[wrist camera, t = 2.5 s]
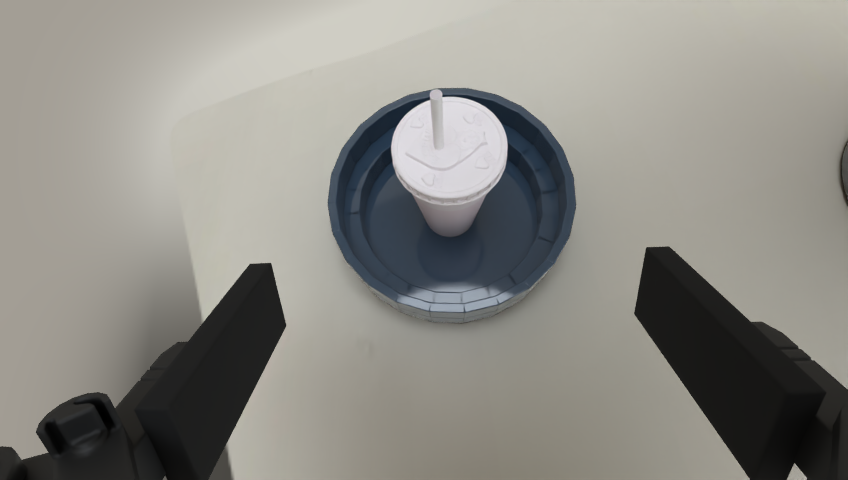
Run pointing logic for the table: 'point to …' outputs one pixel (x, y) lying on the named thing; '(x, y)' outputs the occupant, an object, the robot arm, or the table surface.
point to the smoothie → (449, 159)
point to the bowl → (464, 254)
